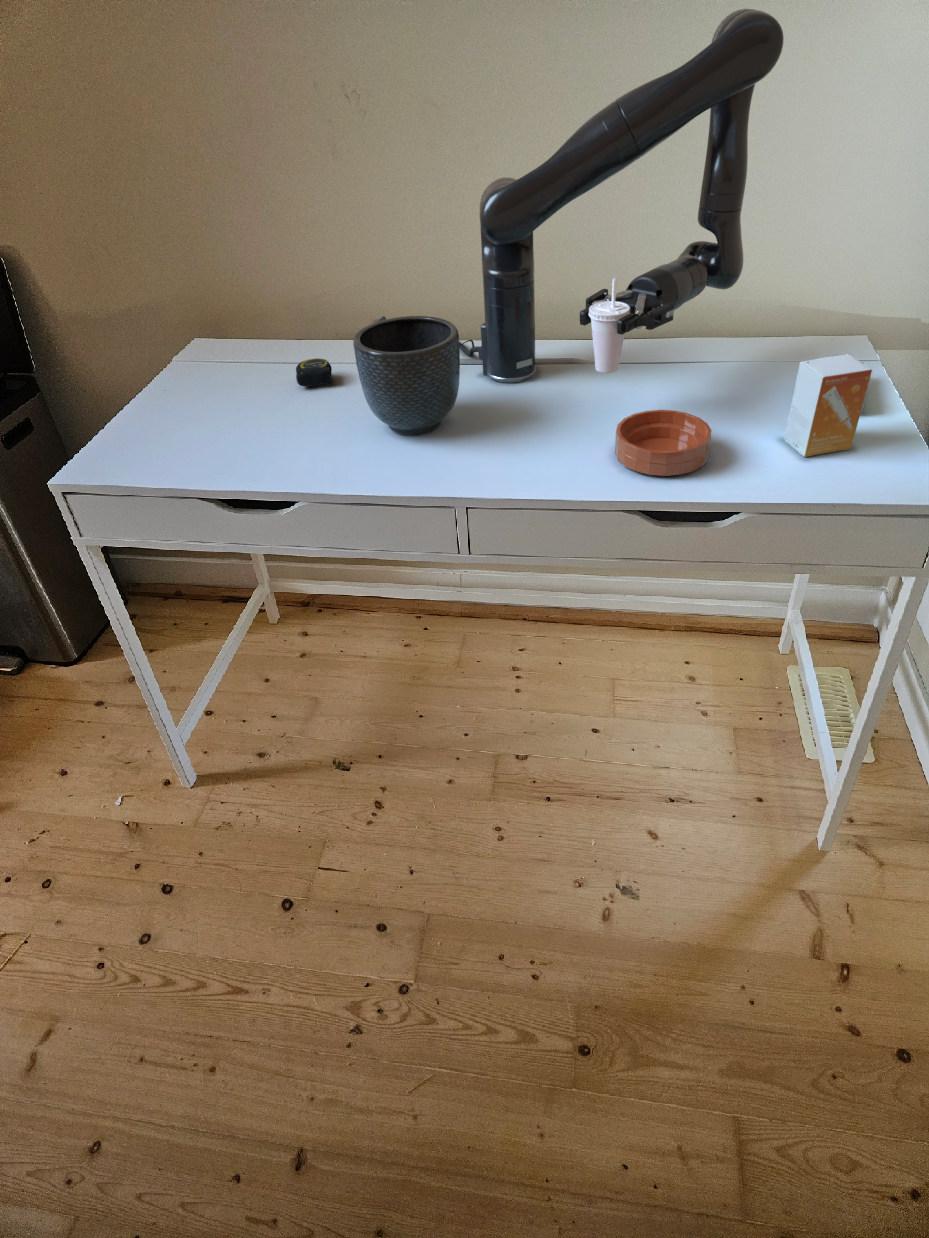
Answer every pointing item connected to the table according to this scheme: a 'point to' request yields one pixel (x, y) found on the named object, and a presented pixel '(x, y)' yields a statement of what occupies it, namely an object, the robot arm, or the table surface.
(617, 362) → the smoothie
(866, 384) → the small box
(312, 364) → the tape measure
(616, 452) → the bowl
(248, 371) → the table surface
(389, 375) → the planter
